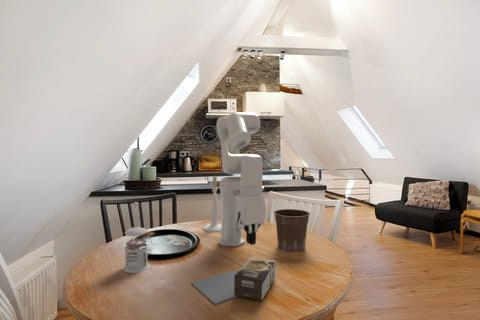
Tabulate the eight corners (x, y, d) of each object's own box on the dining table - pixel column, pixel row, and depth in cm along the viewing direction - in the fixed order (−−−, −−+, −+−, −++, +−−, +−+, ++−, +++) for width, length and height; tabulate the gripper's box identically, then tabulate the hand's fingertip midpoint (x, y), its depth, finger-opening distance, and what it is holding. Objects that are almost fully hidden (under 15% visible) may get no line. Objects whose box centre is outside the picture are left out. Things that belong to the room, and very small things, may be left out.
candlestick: (225, 232, 158) (225, 176, 156) (202, 232, 157) (201, 176, 156) (226, 225, 170) (226, 174, 169) (204, 225, 170) (204, 174, 169)
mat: (191, 283, 98) (191, 282, 98) (237, 270, 109) (237, 269, 109) (214, 304, 85) (214, 303, 85) (264, 287, 95) (264, 286, 95)
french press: (135, 260, 118) (134, 199, 116) (159, 265, 113) (158, 201, 112) (116, 270, 108) (115, 203, 107) (142, 275, 104) (141, 205, 103)
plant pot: (279, 239, 145) (280, 207, 144) (312, 244, 138) (313, 210, 137) (268, 250, 130) (268, 214, 129) (304, 256, 123) (305, 218, 122)
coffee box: (275, 260, 101) (262, 280, 86) (275, 278, 101) (262, 301, 86) (250, 256, 104) (233, 275, 89) (250, 274, 104) (233, 295, 89)
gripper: (261, 187, 108) (261, 236, 109) (227, 191, 100) (227, 244, 101) (275, 190, 102) (274, 242, 103) (239, 194, 94) (239, 250, 95)
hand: (251, 243), depth 102 cm, fingers closed
